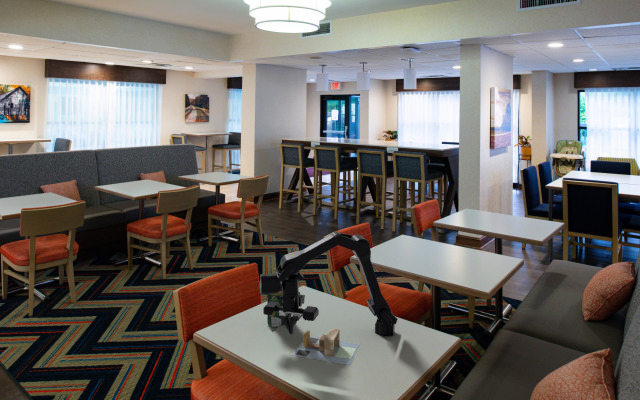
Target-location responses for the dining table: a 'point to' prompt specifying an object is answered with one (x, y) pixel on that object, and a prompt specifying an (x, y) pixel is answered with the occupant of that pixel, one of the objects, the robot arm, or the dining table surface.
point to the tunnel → (332, 341)
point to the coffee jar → (274, 318)
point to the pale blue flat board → (341, 356)
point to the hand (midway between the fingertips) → (291, 333)
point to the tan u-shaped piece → (313, 345)
